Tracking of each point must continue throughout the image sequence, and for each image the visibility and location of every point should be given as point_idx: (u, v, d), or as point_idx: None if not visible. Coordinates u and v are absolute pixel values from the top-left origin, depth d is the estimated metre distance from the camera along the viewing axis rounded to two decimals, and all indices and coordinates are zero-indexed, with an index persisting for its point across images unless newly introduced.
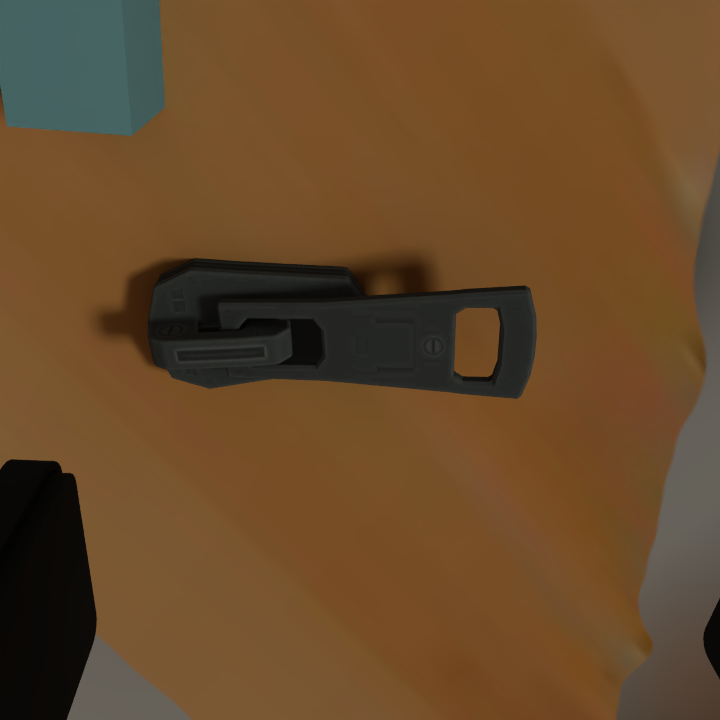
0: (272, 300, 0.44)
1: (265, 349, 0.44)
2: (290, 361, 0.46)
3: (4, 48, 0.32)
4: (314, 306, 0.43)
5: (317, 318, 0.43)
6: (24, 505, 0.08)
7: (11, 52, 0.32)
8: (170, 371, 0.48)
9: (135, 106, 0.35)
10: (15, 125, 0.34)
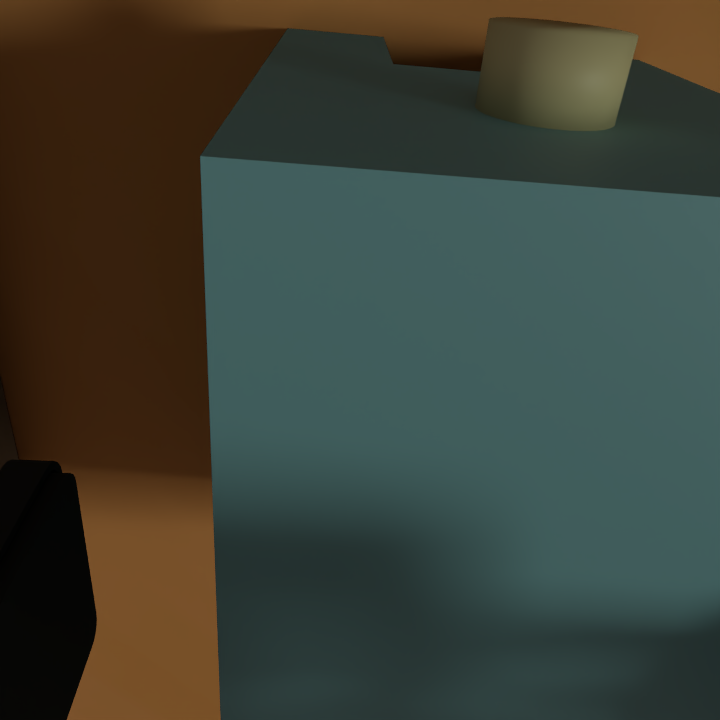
0: None
1: None
2: None
3: (260, 713, 0.08)
4: None
5: None
6: (24, 505, 0.08)
7: None
8: None
9: None
10: None
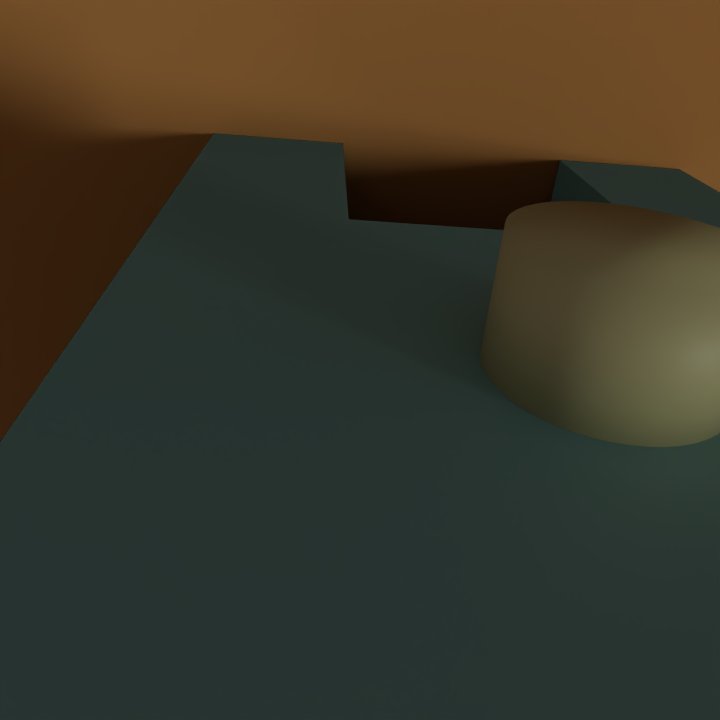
0: None
1: None
2: None
3: None
4: None
5: None
6: None
7: None
8: None
9: None
10: None
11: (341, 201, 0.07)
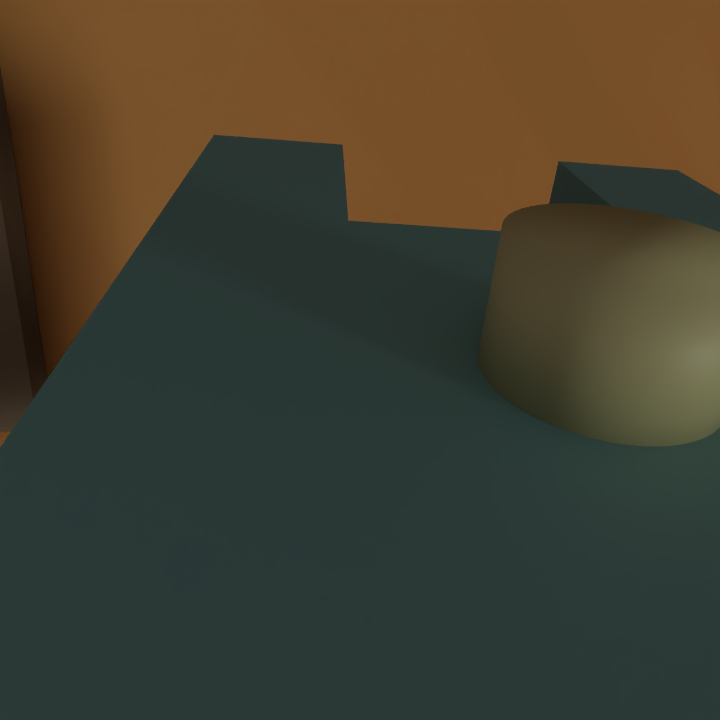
0: None
1: None
2: None
3: None
4: None
5: None
6: None
7: None
8: None
9: None
10: None
11: (341, 202, 0.07)
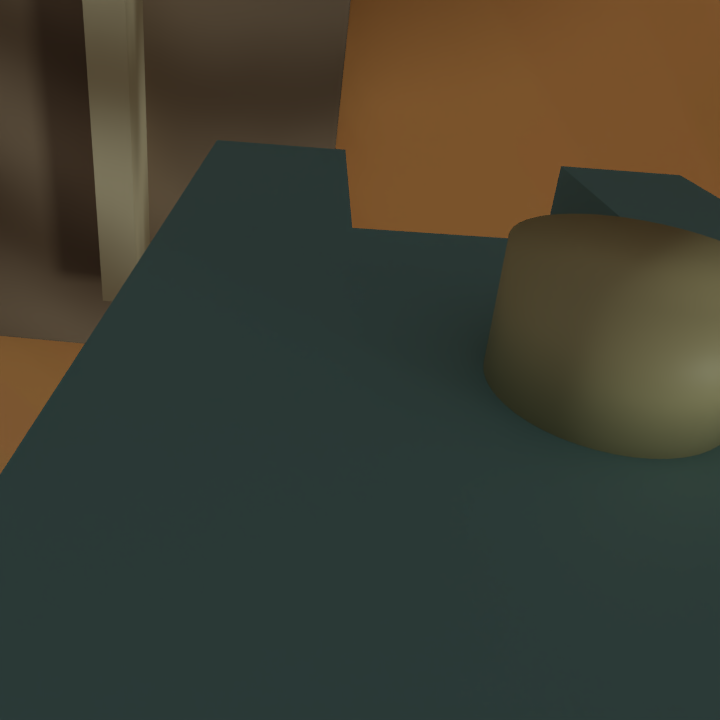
0: None
1: None
2: None
3: None
4: None
5: None
6: None
7: None
8: None
9: None
10: None
11: (344, 209, 0.07)
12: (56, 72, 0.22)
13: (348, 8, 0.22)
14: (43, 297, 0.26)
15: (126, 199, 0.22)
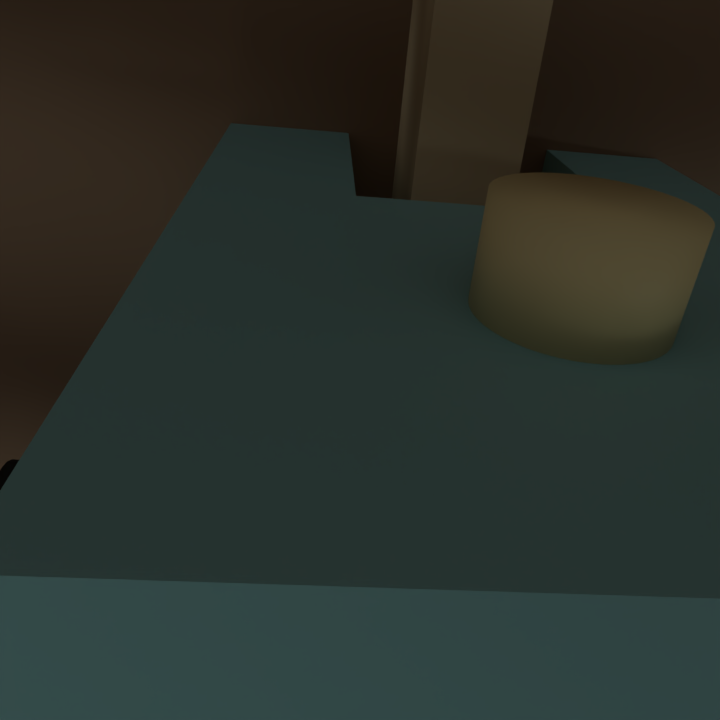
0: None
1: None
2: None
3: None
4: None
5: None
6: None
7: None
8: None
9: None
10: None
11: (349, 181, 0.07)
12: None
13: None
14: None
15: None
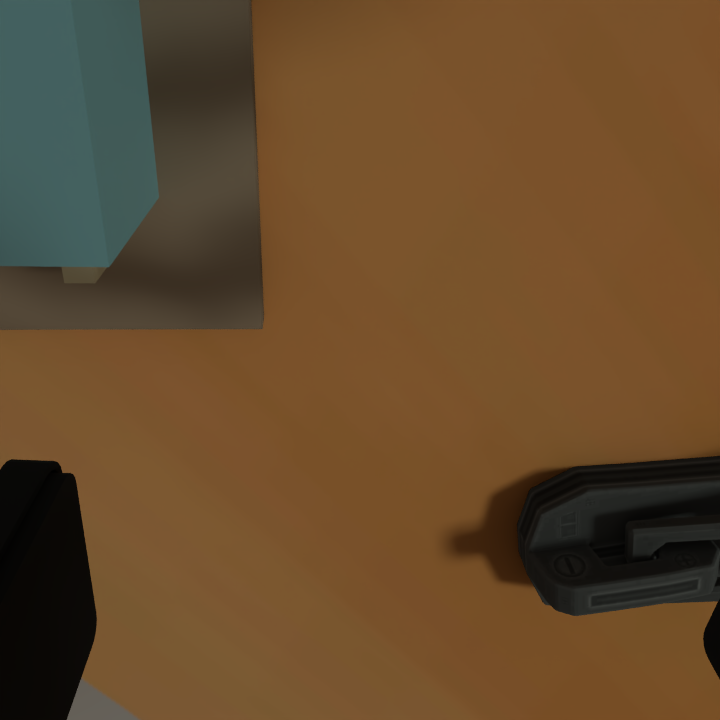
0: (700, 519, 0.35)
1: (699, 581, 0.35)
2: None
3: None
4: None
5: None
6: (24, 505, 0.08)
7: None
8: (544, 598, 0.39)
9: (113, 218, 0.21)
10: None
11: None
12: None
13: (247, 4, 0.25)
14: (14, 290, 0.30)
15: None
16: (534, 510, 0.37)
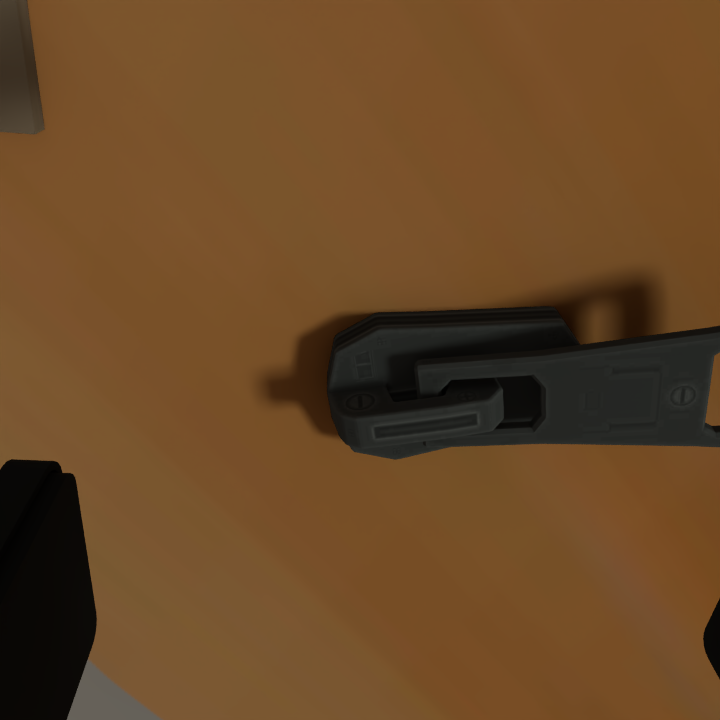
0: (481, 357, 0.37)
1: (478, 416, 0.37)
2: (498, 424, 0.39)
3: None
4: (535, 360, 0.36)
5: (538, 374, 0.36)
6: (24, 505, 0.08)
7: None
8: None
9: None
10: None
11: None
12: None
13: None
14: None
15: None
16: (333, 352, 0.39)
